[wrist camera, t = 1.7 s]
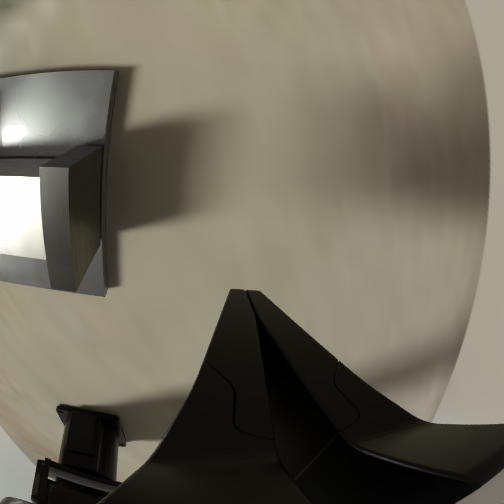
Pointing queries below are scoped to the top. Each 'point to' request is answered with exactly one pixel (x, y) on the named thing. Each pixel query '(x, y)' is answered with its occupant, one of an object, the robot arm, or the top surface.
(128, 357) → the top surface
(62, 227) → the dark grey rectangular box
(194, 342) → the top surface
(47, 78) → the grey tray
